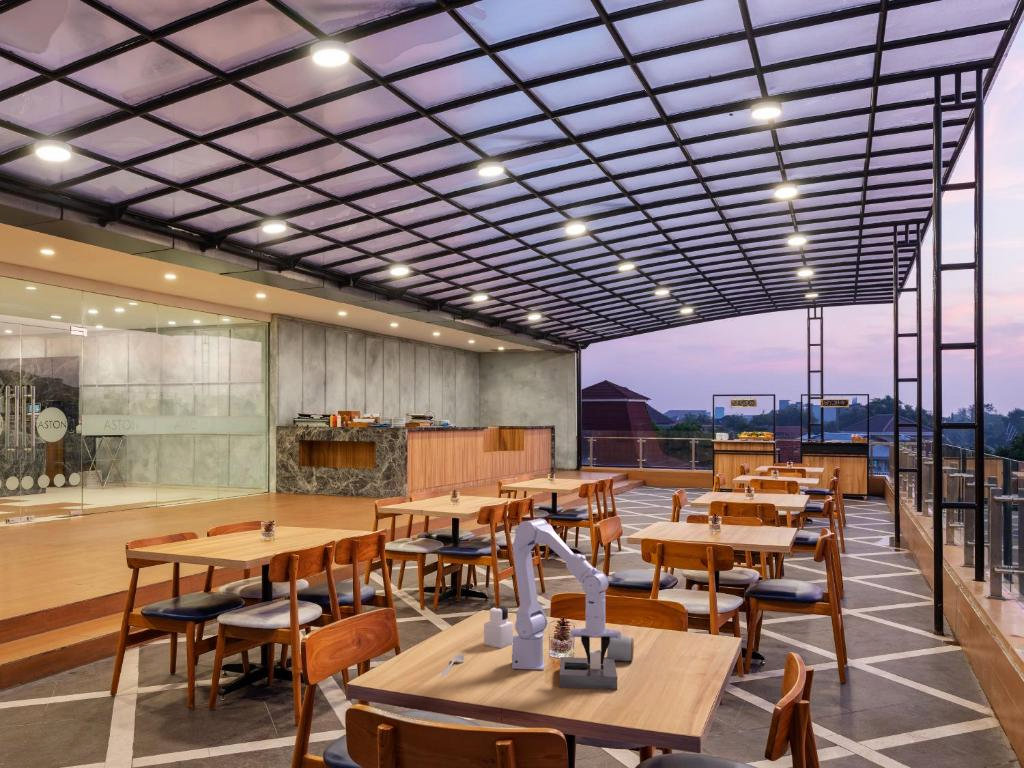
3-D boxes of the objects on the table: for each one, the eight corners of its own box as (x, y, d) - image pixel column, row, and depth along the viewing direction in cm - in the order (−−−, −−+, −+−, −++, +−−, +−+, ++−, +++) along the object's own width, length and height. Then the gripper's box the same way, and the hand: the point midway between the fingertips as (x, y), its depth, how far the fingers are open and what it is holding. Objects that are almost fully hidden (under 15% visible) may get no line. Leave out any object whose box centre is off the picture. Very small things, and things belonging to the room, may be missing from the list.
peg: (585, 682, 217) (585, 653, 217) (585, 675, 222) (585, 648, 223) (605, 683, 216) (605, 654, 217) (604, 676, 222) (604, 648, 222)
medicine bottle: (496, 639, 258) (496, 604, 258) (513, 643, 254) (513, 607, 254) (483, 644, 252) (483, 608, 253) (500, 648, 248) (501, 611, 248)
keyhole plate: (559, 687, 212) (559, 674, 212) (560, 668, 228) (560, 657, 228) (617, 689, 211) (617, 676, 211) (614, 670, 227) (614, 658, 227)
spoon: (467, 659, 237) (467, 654, 238) (444, 681, 217) (445, 676, 218) (454, 658, 238) (454, 653, 239) (431, 680, 219) (431, 674, 219)
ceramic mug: (633, 664, 233) (633, 639, 233) (606, 662, 234) (607, 637, 235) (634, 654, 243) (634, 630, 244) (608, 653, 245) (608, 628, 245)
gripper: (570, 618, 217) (570, 666, 216) (621, 619, 216) (621, 668, 215) (570, 611, 224) (570, 658, 223) (620, 613, 223) (620, 660, 222)
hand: (595, 662), depth 220 cm, fingers closed on peg, 3 cm apart
